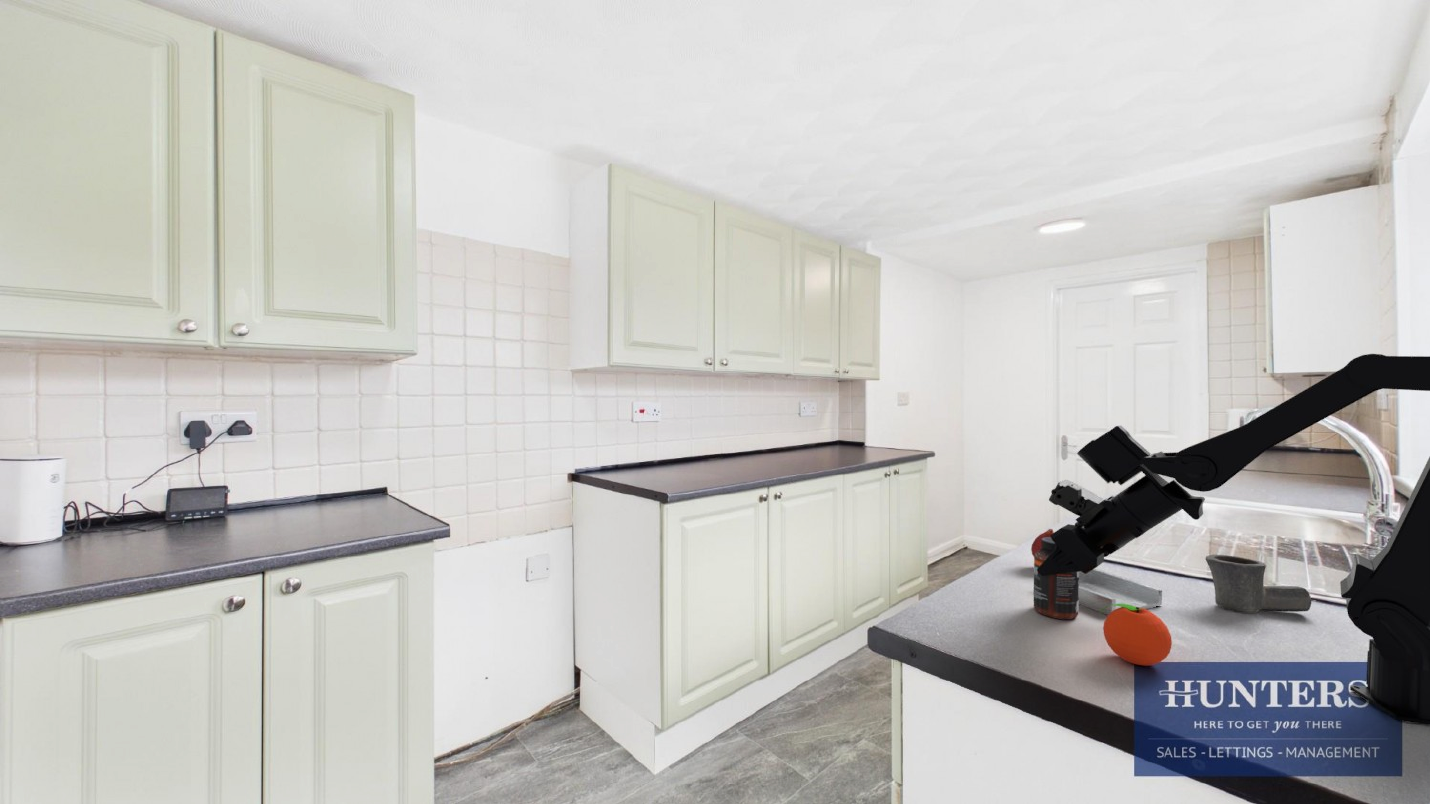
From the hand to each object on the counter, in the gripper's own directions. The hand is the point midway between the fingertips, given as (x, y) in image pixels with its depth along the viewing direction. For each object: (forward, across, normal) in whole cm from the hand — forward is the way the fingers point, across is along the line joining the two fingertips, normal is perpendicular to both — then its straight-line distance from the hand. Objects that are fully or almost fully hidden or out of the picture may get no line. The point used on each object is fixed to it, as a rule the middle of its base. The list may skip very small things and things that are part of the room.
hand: (1046, 568), depth 86 cm
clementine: (-4, +9, +14) cm, 17 cm away
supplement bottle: (+4, 0, +6) cm, 7 cm away
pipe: (-10, -25, +20) cm, 33 cm away
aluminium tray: (+2, -12, +8) cm, 15 cm away
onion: (+9, -21, +1) cm, 23 cm away
